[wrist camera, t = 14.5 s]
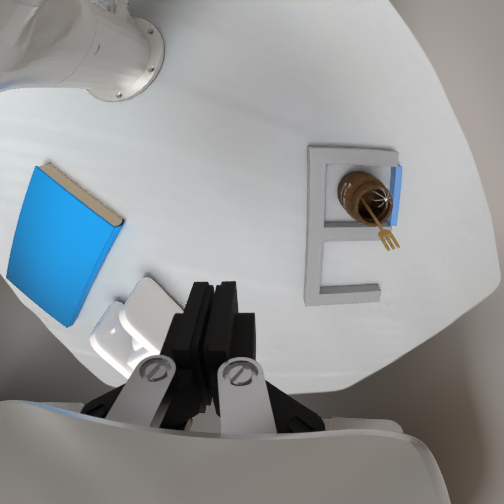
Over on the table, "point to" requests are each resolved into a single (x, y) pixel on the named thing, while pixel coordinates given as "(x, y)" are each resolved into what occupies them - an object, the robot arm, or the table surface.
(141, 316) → the cable organizer
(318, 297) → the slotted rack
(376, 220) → the utensil holder
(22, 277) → the book
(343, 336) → the table surface
